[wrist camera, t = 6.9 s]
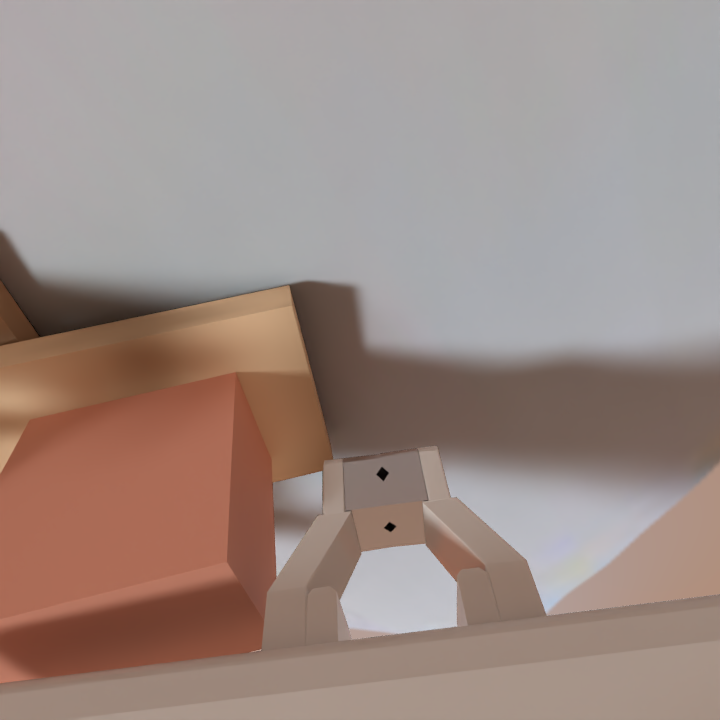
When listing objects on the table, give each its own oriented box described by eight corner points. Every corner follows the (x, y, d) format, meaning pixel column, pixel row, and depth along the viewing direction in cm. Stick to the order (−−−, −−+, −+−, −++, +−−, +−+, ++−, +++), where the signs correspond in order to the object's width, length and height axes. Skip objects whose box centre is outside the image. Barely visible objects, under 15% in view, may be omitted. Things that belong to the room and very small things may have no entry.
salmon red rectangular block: (98, 501, 16) (33, 709, 11) (30, 419, 13) (-91, 642, 9) (271, 459, 16) (279, 644, 11) (235, 372, 14) (226, 561, 9)
